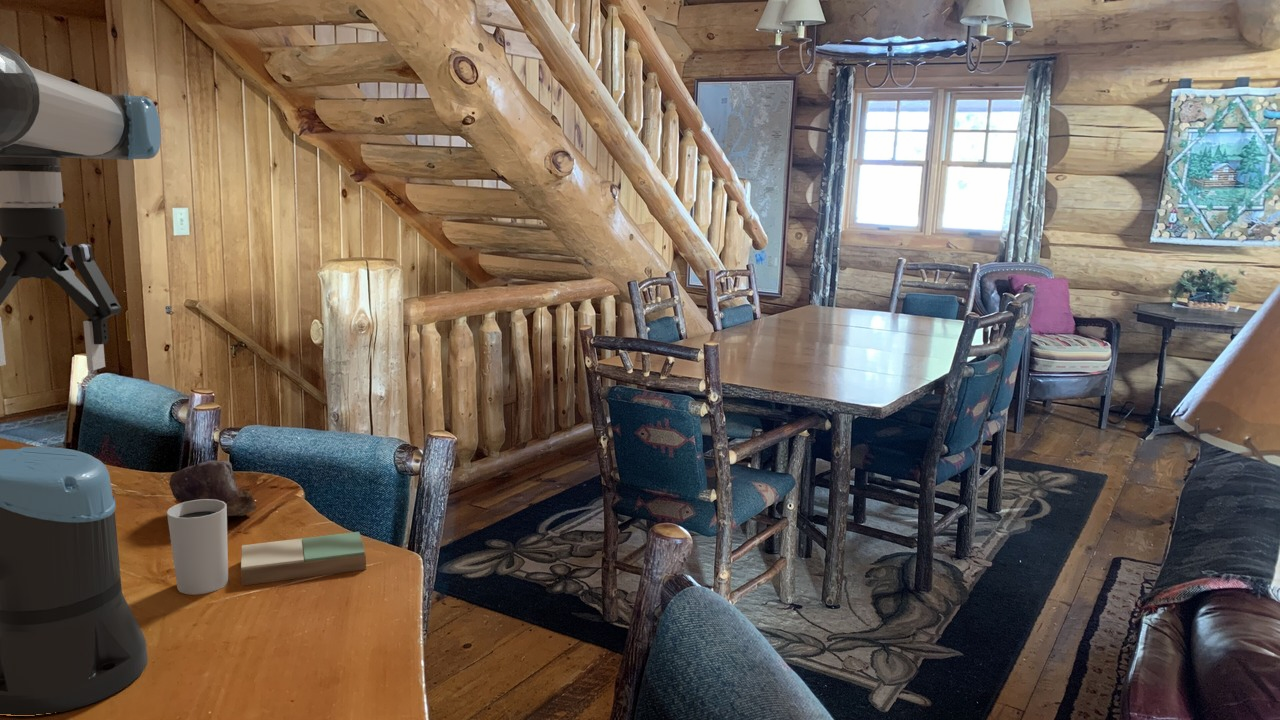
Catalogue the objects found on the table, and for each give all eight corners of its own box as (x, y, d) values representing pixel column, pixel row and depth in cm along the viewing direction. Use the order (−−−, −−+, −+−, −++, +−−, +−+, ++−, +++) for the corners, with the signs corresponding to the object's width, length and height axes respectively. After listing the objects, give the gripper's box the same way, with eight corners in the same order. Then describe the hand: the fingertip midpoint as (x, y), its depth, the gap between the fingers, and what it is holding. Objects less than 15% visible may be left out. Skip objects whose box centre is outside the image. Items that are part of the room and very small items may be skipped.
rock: (233, 507, 149) (162, 521, 142) (228, 450, 148) (155, 461, 141) (264, 516, 140) (189, 532, 133) (258, 456, 140) (183, 468, 132)
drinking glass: (215, 568, 123) (210, 495, 121) (242, 583, 119) (236, 507, 117) (163, 585, 118) (157, 509, 116) (189, 601, 114) (182, 522, 112)
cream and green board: (366, 569, 124) (365, 552, 124) (241, 585, 119) (240, 568, 118) (360, 546, 131) (359, 530, 131) (242, 560, 126) (241, 544, 125)
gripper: (141, 206, 126) (153, 364, 130) (-43, 203, 127) (-26, 360, 130) (108, 208, 119) (122, 374, 122) (-87, 204, 119) (-67, 370, 123)
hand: (46, 367), depth 126 cm, fingers open, 13 cm apart
